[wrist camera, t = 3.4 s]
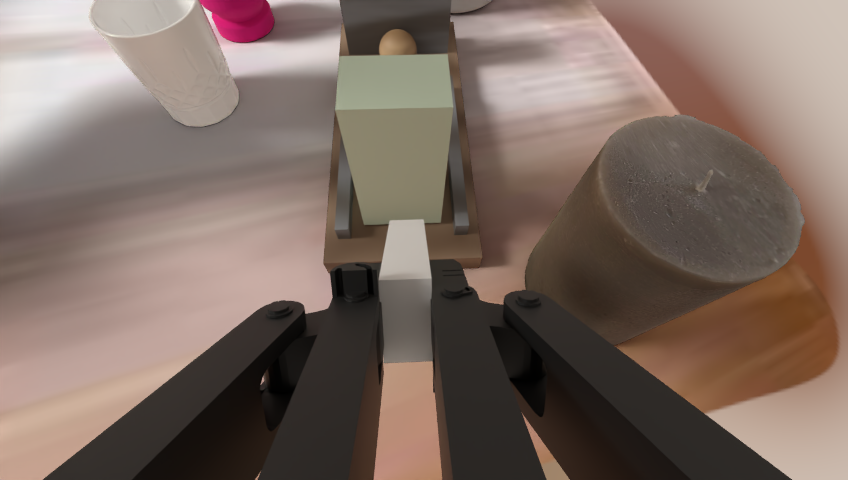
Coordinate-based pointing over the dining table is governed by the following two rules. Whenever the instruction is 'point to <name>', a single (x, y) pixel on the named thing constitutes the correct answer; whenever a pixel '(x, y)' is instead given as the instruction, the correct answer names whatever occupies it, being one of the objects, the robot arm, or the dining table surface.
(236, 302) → the dining table surface
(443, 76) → the block
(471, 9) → the cylinder vase
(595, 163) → the pillar candle
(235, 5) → the pink bowling pin
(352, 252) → the press bench
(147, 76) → the white cup
